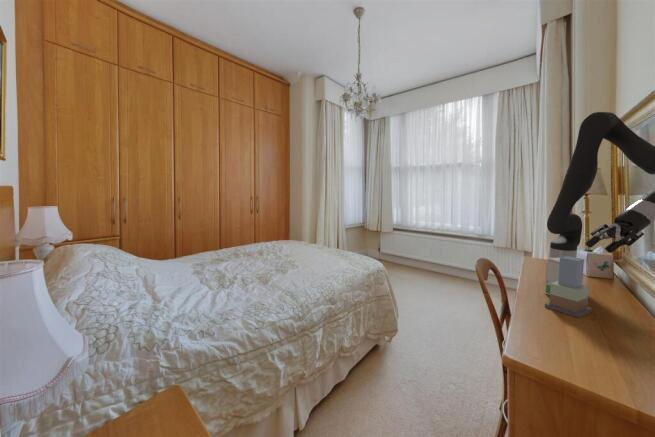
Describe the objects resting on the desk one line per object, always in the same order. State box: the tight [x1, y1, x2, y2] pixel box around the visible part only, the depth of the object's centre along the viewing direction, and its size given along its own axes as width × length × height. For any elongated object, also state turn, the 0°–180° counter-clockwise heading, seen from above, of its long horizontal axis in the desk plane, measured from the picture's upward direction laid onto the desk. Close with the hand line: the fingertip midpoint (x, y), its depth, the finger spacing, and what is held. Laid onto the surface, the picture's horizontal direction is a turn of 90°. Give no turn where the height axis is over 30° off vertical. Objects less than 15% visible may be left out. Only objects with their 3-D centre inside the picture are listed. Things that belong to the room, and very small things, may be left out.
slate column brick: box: [558, 256, 585, 288], centre depth 97 cm, size 5×5×10 cm
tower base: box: [544, 281, 593, 319], centre depth 99 cm, size 10×10×9 cm
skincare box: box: [544, 257, 560, 296], centre depth 109 cm, size 8×7×16 cm
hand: (597, 248), depth 96 cm, fingers open, 8 cm apart
